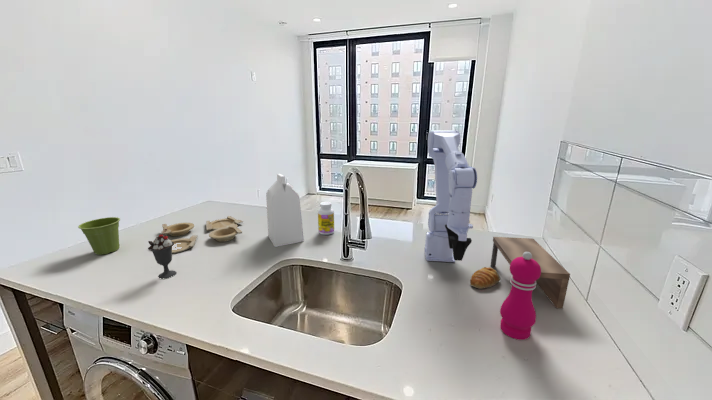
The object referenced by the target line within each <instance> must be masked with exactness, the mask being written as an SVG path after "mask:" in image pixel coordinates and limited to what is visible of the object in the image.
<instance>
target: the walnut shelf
mask: <svg viewBox="0 0 712 400" xmlns="http://www.w3.org/2000/svg"><path fill="white" fill-rule="evenodd" d="M492 243H493V244H492V251H491V260H490V268H496V266H497V259H498V251H499V252H500V254H501V255H502V256H503V257H504V259H505V260H506V262H507V263H508V265H509V266H510V264H511V262H512V260H513V259H515V258H517V257H523V253H524V252H530V253H531V254H532V259H534V260H535V261H536V262H537V263H538V264H539V265H540V267H541V275H540V277H539V279H537V280H536V285H537V286H538V287H539V288H540V289H541V291H542V292H543V293H544V294H545V295H546V297H547V299H549V301H550V302H551V304H553V305H552V306H554V307H555V309H559V310H560V309H561V310H563V309H564V305H565V300H566V297H567V296H566V295H567V291H568V287H569V281H570V277H571V273H570V272H569V271H567V269H566V268H565V267H563V265H562V264H561V263H559V262H558V261H557V260H556V259H555V258H554V257H553V256H552V255H551V254H550V253H549V252H548V251H547V250H546V249H545V248H544V247H542V245H541V244H539V242H537V241H536V240H535V238H533V237H532V238H531V237H506V236H492Z"/></svg>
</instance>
